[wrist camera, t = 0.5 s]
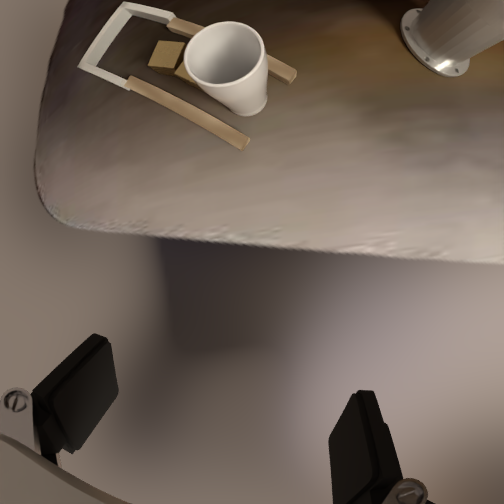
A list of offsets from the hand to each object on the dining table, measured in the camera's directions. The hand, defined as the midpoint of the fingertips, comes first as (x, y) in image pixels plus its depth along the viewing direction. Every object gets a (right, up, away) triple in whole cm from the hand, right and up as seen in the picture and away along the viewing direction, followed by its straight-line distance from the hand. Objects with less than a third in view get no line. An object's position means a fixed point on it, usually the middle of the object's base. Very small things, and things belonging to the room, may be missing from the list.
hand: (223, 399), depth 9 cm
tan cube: (-10, +32, +22) cm, 40 cm away
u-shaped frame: (-18, +37, +22) cm, 47 cm away
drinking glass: (0, +25, +23) cm, 34 cm away
